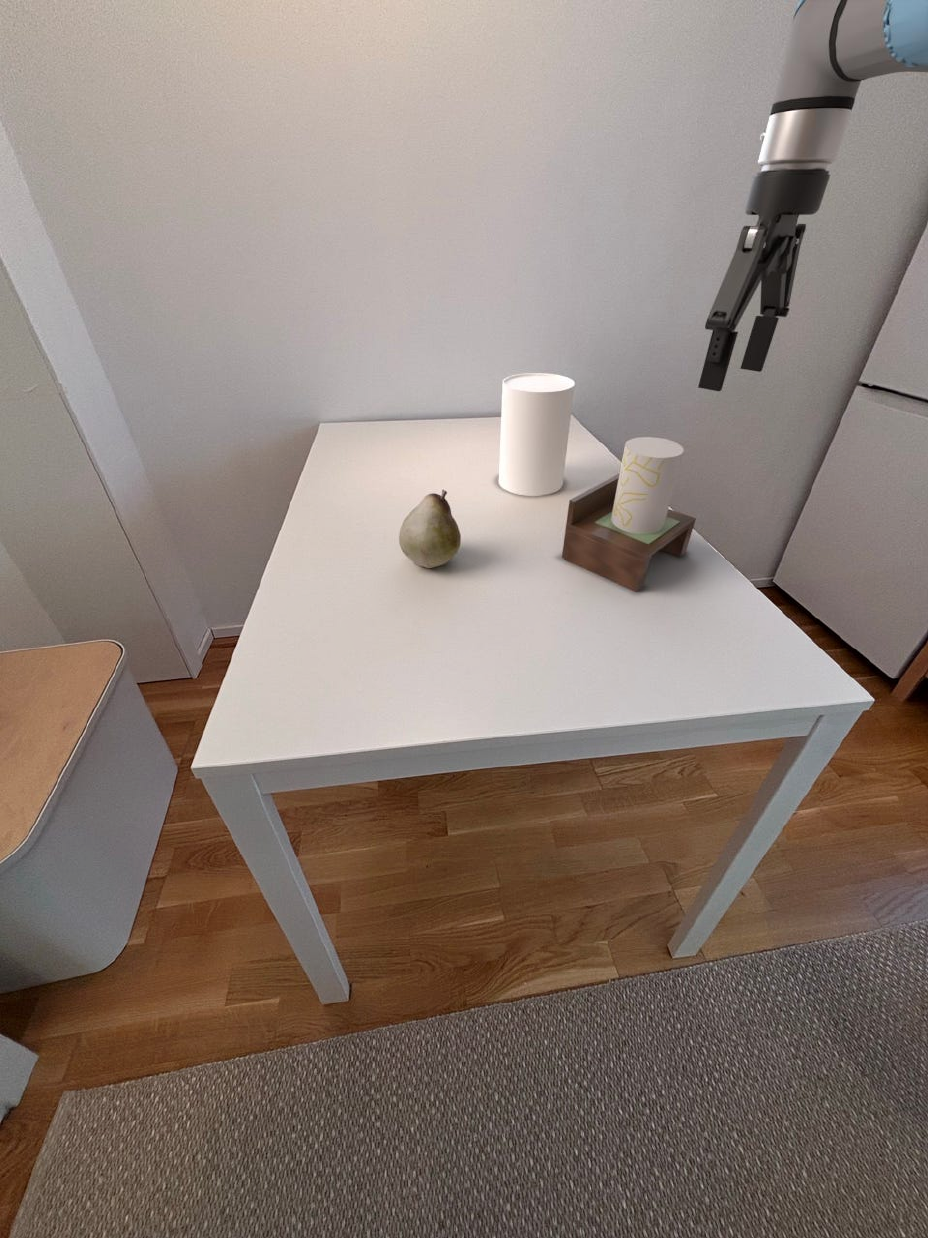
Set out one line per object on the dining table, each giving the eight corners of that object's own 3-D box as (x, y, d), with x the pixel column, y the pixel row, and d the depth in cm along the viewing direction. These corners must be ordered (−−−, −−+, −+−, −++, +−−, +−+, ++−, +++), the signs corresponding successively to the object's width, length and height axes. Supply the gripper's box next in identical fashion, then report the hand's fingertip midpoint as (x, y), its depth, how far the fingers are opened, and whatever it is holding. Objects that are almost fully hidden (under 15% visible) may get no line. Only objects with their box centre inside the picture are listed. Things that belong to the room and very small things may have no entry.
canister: (536, 464, 117) (544, 369, 105) (575, 486, 108) (589, 384, 96) (486, 477, 112) (488, 379, 99) (524, 501, 103) (531, 396, 90)
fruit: (472, 560, 86) (472, 493, 78) (432, 584, 80) (428, 514, 73) (428, 539, 91) (425, 475, 84) (388, 561, 86) (381, 493, 78)
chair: (685, 552, 87) (703, 495, 81) (636, 592, 79) (651, 531, 72) (613, 525, 95) (624, 470, 88) (561, 558, 86) (569, 499, 80)
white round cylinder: (600, 516, 83) (613, 443, 76) (638, 505, 86) (654, 433, 79) (635, 539, 78) (653, 461, 70) (675, 526, 81) (696, 450, 73)
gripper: (794, 174, 65) (740, 358, 78) (709, 165, 51) (660, 392, 64) (862, 171, 61) (792, 366, 74) (790, 161, 47) (720, 404, 60)
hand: (731, 379), depth 69 cm, fingers open, 13 cm apart
